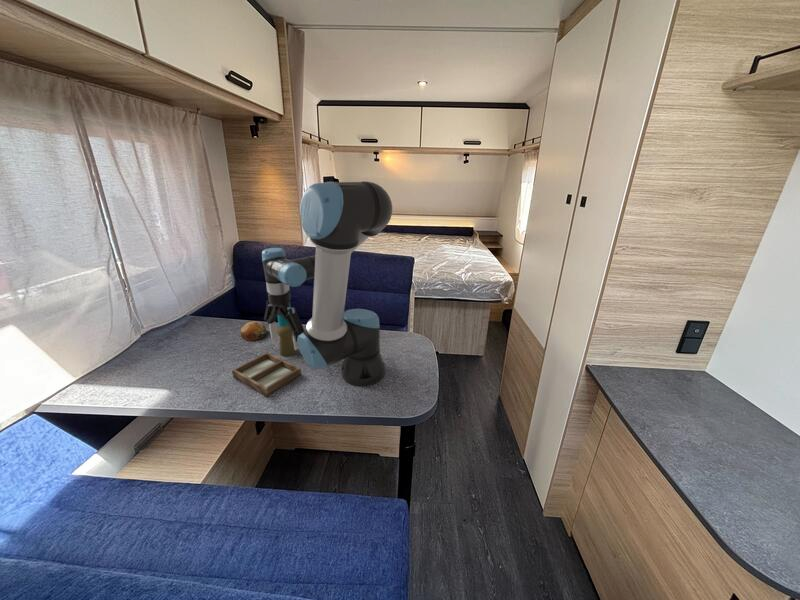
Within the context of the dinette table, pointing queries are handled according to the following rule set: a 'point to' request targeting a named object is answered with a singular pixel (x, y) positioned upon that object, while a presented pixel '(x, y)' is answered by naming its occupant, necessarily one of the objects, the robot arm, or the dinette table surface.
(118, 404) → the dinette table surface
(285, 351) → the olive rounded lobed piece
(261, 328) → the bread roll
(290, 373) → the tray
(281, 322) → the beverage can
